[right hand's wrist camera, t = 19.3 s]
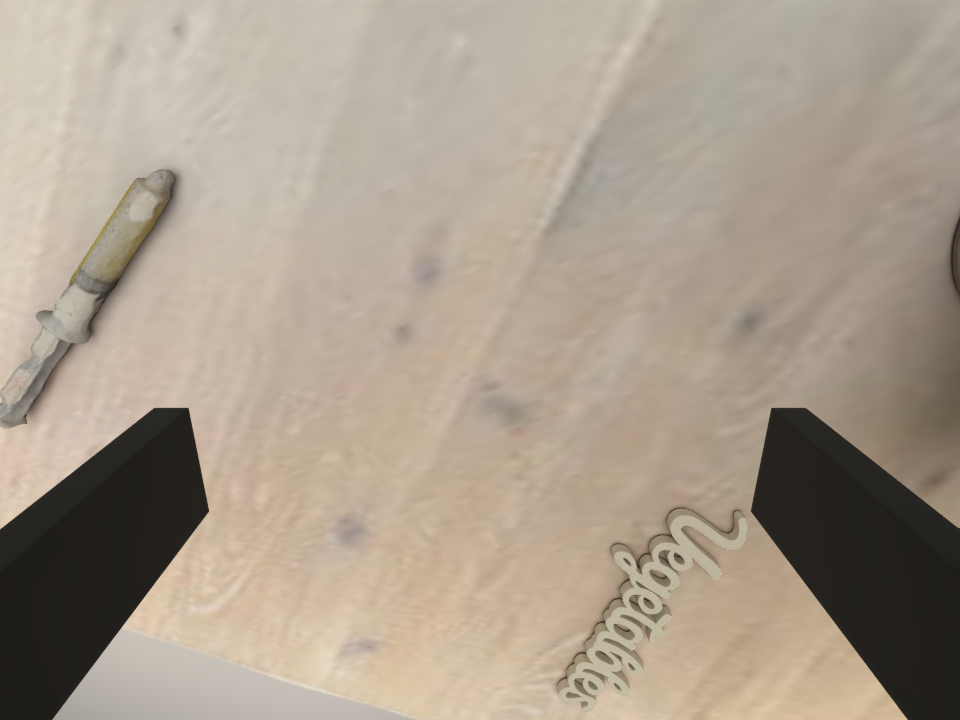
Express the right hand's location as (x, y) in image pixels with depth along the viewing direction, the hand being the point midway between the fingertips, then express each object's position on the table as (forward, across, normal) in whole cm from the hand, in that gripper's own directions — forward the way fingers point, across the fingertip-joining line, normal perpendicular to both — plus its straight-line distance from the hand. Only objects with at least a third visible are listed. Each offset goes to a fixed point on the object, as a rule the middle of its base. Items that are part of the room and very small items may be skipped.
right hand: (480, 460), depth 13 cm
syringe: (+31, +30, +4) cm, 43 cm away
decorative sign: (+31, -14, +34) cm, 48 cm away
